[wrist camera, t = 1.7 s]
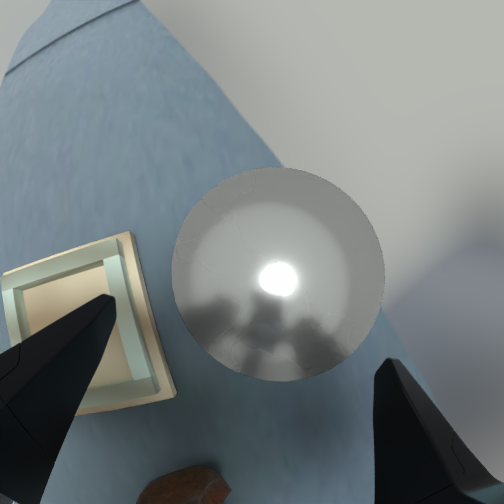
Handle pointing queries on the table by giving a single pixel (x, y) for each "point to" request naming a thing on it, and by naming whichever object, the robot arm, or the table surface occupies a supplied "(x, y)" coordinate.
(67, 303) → the tray
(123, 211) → the table surface
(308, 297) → the grey cylindrical piece
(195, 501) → the bolt
